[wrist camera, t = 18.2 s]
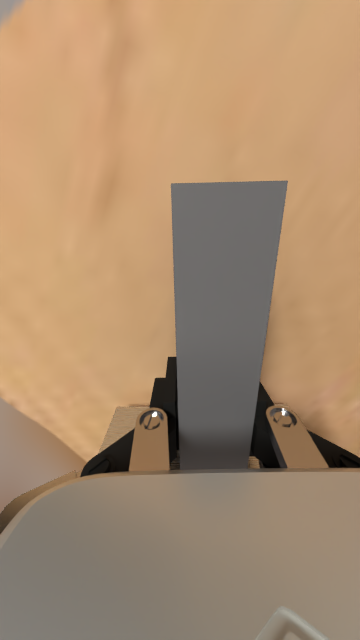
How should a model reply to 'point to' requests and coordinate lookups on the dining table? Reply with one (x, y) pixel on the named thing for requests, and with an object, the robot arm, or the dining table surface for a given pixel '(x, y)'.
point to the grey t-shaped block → (218, 318)
